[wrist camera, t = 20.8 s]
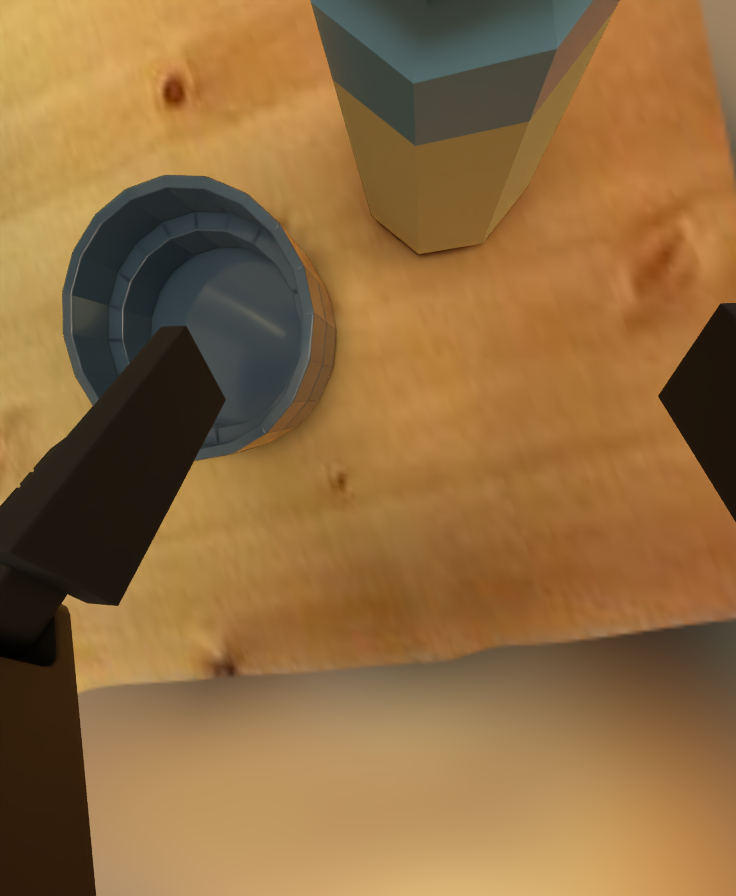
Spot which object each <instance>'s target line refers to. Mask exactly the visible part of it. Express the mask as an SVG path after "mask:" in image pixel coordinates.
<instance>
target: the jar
mask: <svg viewBox="0 0 736 896" xmlns="http://www.w3.org/2000/svg"><path fill="white" fill-rule="evenodd" d="M619 1H620V0H311V5H312V8H313V12H314V15H315V19H316V22H317V26H318V29H319V33H320V36H321V40H322V43H323V47H324V50H325V54H326V57H327V61H328V64H329V68H330V72H331V75H332V79H333V82H334V86H335V89H336V93H337V96H338V100H339V103H340V107H341V110H342V114H343V117H344V121H345V124H346V128H347V131H348V135H349V138H350V142H351V146H352V149H353V153H354V156H355V160H356V163H357V167H358V170H359V174H360V177H361V181H362V184H363V188H364V191H365V195H366V198H367V202H368V205H369V209H370V212H371V216H372V217H374V218H375V219H376V220H377V221H379V222H380V223H381V224H382V225H383V226H385V227H386V228H387V229H388V230H390V231H391V232H392V233H393V234H395V235H396V236H397V237H398V238H399V239H401V240H402V241H403V242H404V243H406V244H407V245H408V246H409V247H411V248H412V249H413V250H414V251H415V252H417V253H418V254H422V253H428V252H434V251H440V250H446V249H452V248H458V247H464V246H470V245H476V244H482V243H483V242H484V241H485V240H486V238H487V237H488V236H489V235H490V233H491V232H492V231H493V230H494V228H495V227H496V226H497V224H498V223H499V222H500V221H501V219H502V218H503V217H504V216H505V214H506V213H507V212H508V211H509V209H510V208H511V207H512V206H513V204H514V203H515V202H516V200H517V199H518V198H519V197H520V195H521V194H522V193H523V192H524V190H525V189H526V188H527V187H528V185H529V183H530V181H531V179H532V177H533V175H534V173H535V171H536V169H537V166H538V164H539V162H540V160H541V158H542V156H543V154H544V152H545V150H546V148H547V146H548V144H549V142H550V140H551V138H552V136H553V134H554V132H555V130H556V128H557V126H558V124H559V122H560V120H561V118H562V116H563V114H564V112H565V110H566V108H567V106H568V104H569V102H570V100H571V98H572V96H573V94H574V92H575V90H576V88H577V86H578V84H579V81H580V79H581V77H582V75H583V73H584V71H585V69H586V67H587V65H588V63H589V61H590V59H591V57H592V55H593V53H594V51H595V49H596V47H597V45H598V43H599V41H600V39H601V37H602V35H603V33H604V31H605V29H606V27H607V25H608V23H609V21H610V19H611V17H612V15H613V13H614V11H615V9H616V7H617V5H618V3H619Z"/></svg>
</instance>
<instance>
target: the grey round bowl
mask: <svg viewBox="0 0 736 896" xmlns="http://www.w3.org/2000/svg"><path fill="white" fill-rule="evenodd" d="M73 251H74V252H72V256H71V260H70V264H69V268H68V271H67V275H66V279H65V283H64V287H63V291H62V292H63V293H62V305H63V335H64V340H65V343H66V347H67V350H68V354H69V357H70V361H71V364H72V368H73V371H74V375H76V376H75V377H76V379H77V380H78V382H79V384H80V385H81V387H82V389H83V390H84V392H85V394H86V395H87V397H88V399H89V400H90V402H91V404H92V405H94V404H95V403H96V402H97V401H98V400H99V398H100V397H101V396H102V395H103V394H104V393H105V391H106V390H107V389H108V388H109V387H110V386H111V384H112V383H113V382H114V381H115V380H116V379H117V377H118V376H119V375H120V374H121V373H122V372H123V370H124V369H125V368H126V367H127V366H128V365H129V363H130V362H131V361H132V360H133V359H134V358H135V357H136V355H137V354H138V353H139V352H140V351H141V350H142V348H143V347H144V346H145V345H146V344H147V343H148V341H149V340H150V339H151V338H152V337H153V336H154V334H155V333H156V332H157V331H158V330H159V329H160V327H162V326H187V328H188V330H189V332H190V333H191V335H192V337H193V339H194V341H195V343H196V345H197V346H198V348H199V350H200V352H201V354H202V356H203V358H204V359H205V361H206V363H207V365H208V367H209V369H210V371H211V373H212V374H213V376H214V378H215V380H216V382H217V384H218V386H219V387H220V389H221V391H222V393H223V395H224V397H225V399H226V401H225V403H224V405H223V407H222V408H221V410H220V412H219V414H218V416H217V418H216V420H215V422H214V424H213V426H212V428H211V429H210V431H209V433H208V435H207V437H206V439H205V441H204V443H203V445H202V447H201V449H200V450H199V452H198V454H197V456H196V458H195V461H198V460H203V459H208V458H213V457H218V456H224V455H229V454H233V453H237V452H240V451H244V450H247V449H251V448H254V447H257V446H261V445H264V444H268V443H270V442H272V441H274V440H275V439H277V438H279V437H280V436H282V435H284V434H286V433H287V432H289V431H291V430H292V429H294V428H296V427H297V426H298V425H299V424H300V423H301V422H302V420H303V419H304V418H305V417H306V416H307V415H308V413H309V412H310V411H311V410H312V409H313V408H314V406H315V405H316V404H317V403H318V402H319V400H320V397H321V395H322V393H323V390H324V388H325V385H326V383H327V381H328V378H329V376H330V373H331V371H332V368H333V362H334V351H335V340H336V326H335V322H334V317H333V312H332V307H331V302H330V298H329V294H328V291H327V290H326V288H325V286H324V284H323V282H322V281H321V279H320V277H319V275H318V273H317V272H316V270H315V268H314V266H313V264H312V263H311V261H310V260H309V258H308V257H307V256H306V255H305V254H304V252H303V251H302V250H301V249H300V247H299V246H298V245H297V244H296V243H295V241H294V240H293V239H292V238H291V236H290V235H289V234H288V233H287V232H286V230H285V229H284V228H283V227H282V225H281V224H280V223H279V222H278V221H277V220H276V219H274V218H273V217H272V216H271V215H270V214H269V213H268V212H267V211H266V210H265V209H264V208H263V207H261V206H260V205H259V204H258V203H257V202H256V201H255V200H254V199H253V198H252V197H251V196H250V195H248V194H247V193H245V192H243V191H240V190H238V189H236V188H233V187H231V186H229V185H226V184H224V183H221V182H219V181H217V180H214V179H212V178H210V177H206V176H186V175H165V176H164V175H163V176H160V177H157V178H154V179H152V180H149V181H146V182H143V183H141V184H138V185H135V186H132V187H129V188H127V189H125V190H124V191H122V192H121V193H120V194H119V195H118V196H116V197H115V198H114V199H113V200H112V201H111V202H109V203H108V204H107V205H106V206H105V207H104V208H102V209H101V210H100V211H99V212H98V213H96V214H95V216H94V217H93V219H92V220H91V222H90V224H89V225H88V227H87V229H86V230H85V232H84V233H83V235H82V237H81V238H80V240H79V242H78V243H77V245H76V247H75V248H74V250H73Z"/></svg>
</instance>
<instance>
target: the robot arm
mask: <svg viewBox="0 0 736 896" xmlns="http://www.w3.org/2000/svg"><path fill="white" fill-rule="evenodd" d="M658 397H659V398H660V400H661V402H662V403H663V405H664V407H665V408H666V410H667V411H668V413H669V415H670V416H671V418H672V420H673V421H674V423H675V424H676V426H677V428H678V429H679V431H680V432H681V434H682V436H683V437H684V439H685V441H686V442H687V444H688V445H689V447H690V449H691V450H692V452H693V454H694V455H695V457H696V458H697V460H698V462H699V463H700V465H701V467H702V468H703V470H704V471H705V473H706V475H707V476H708V478H709V480H710V481H711V483H712V484H713V486H714V488H715V489H716V491H717V492H718V494H719V496H720V497H721V499H722V501H723V502H724V504H725V505H726V507H727V509H728V510H729V512H730V514H731V515H732V517H733V518H734V520H735V522H736V303H723V304H720V305H719V306H718V308H717V309H716V311H715V312H714V314H713V315H712V317H711V318H710V320H709V321H708V323H707V324H706V326H705V327H704V329H703V330H702V332H701V333H700V335H699V336H698V338H697V339H696V341H695V342H694V344H693V345H692V347H691V348H690V350H689V351H688V352H687V354H686V355H685V357H684V358H683V360H682V361H681V363H680V364H679V366H678V367H677V369H676V370H675V372H674V373H673V375H672V376H671V378H670V379H669V381H668V382H667V384H666V385H665V387H664V388H663V390H662V391H661V393H660V394H659V396H658ZM225 401H226V399H225V397H224V395H223V393H222V391H221V389H220V387H219V386H218V384H217V382H216V380H215V378H214V376H213V374H212V373H211V371H210V369H209V367H208V365H207V363H206V361H205V359H204V358H203V356H202V354H201V352H200V350H199V348H198V346H197V345H196V343H195V341H194V339H193V337H192V335H191V333H190V332H189V330H188V328H187V326H162V327H160V329H159V330H158V331H157V332H156V333H155V334H154V336H153V337H152V338H151V339H150V340H149V341H148V343H147V344H146V345H145V346H144V347H143V348H142V350H141V351H140V352H139V353H138V354H137V355H136V357H135V358H134V359H133V360H132V361H131V362H130V363H129V365H128V366H127V367H126V368H125V369H124V370H123V372H122V373H121V374H120V375H119V376H118V377H117V379H116V380H115V381H114V382H113V383H112V384H111V386H110V387H109V388H108V389H107V390H106V391H105V393H104V394H103V395H102V396H101V397H100V398H99V400H98V401H97V402H96V403H95V404H94V405H93V407H92V408H91V409H90V410H89V411H88V412H87V414H86V415H85V416H84V417H83V418H82V419H81V421H80V422H79V423H78V424H77V425H76V426H75V427H74V429H73V430H72V431H71V432H70V433H69V434H68V436H67V437H66V438H64V439H63V440H62V441H60V442H59V443H58V444H56V445H55V446H54V447H52V448H51V449H50V450H49V451H48V452H47V453H46V454H45V456H44V457H43V458H42V459H41V460H40V461H39V462H38V464H37V465H36V466H35V467H34V468H33V469H34V472H30V473H29V474H28V475H27V476H26V477H25V478H24V480H23V481H22V482H21V483H20V485H21V486H20V488H16V489H15V490H14V491H13V492H12V493H11V494H10V496H9V497H8V498H7V499H6V500H5V501H4V503H3V504H2V505H1V506H0V896H96V890H95V879H94V868H93V858H92V847H91V837H90V826H89V814H88V803H87V793H86V782H85V772H84V760H83V749H82V738H81V728H80V718H79V706H78V695H77V684H76V673H75V663H74V652H73V641H72V630H71V619H70V613H69V611H68V608H67V607H66V606H64V605H62V604H61V603H62V602H63V600H64V599H65V597H66V595H67V594H68V595H70V596H73V597H75V598H77V599H79V600H81V601H84V602H86V603H91V604H102V605H114V606H118V605H119V603H120V601H121V599H122V597H123V596H124V594H125V592H126V590H127V588H128V586H129V584H130V582H131V580H132V578H133V576H134V575H135V573H136V571H137V569H138V567H139V565H140V563H141V561H142V559H143V557H144V555H145V554H146V552H147V550H148V548H149V546H150V544H151V542H152V540H153V538H154V536H155V534H156V533H157V531H158V529H159V527H160V525H161V523H162V521H163V519H164V517H165V515H166V513H167V512H168V510H169V508H170V506H171V504H172V502H173V500H174V498H175V496H176V494H177V492H178V491H179V489H180V487H181V485H182V483H183V481H184V479H185V477H186V475H187V473H188V471H189V470H190V468H191V466H192V464H193V462H194V460H195V458H196V456H197V454H198V452H199V450H200V449H201V447H202V445H203V443H204V441H205V439H206V437H207V435H208V433H209V431H210V429H211V428H212V426H213V424H214V422H215V420H216V418H217V416H218V414H219V412H220V410H221V408H222V407H223V405H224V403H225Z"/></svg>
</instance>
